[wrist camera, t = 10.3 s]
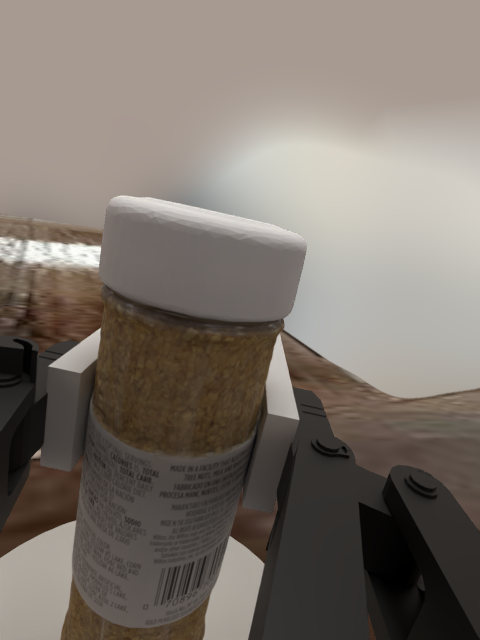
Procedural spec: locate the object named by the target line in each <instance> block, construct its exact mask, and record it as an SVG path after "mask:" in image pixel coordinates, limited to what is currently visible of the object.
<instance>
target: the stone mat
mask: <svg viewBox="0 0 480 640" xmlns="http://www.w3.org/2000/svg"><path fill="white" fill-rule="evenodd" d="M75 527H76V521H73V522H70V523H67V524H64V525H61V526H59V527H57V528H54V529H52V530H50V531H47V532H45V533H43V534H40V535H39V536H37V537H35V538H33V539H31V540H29V541H27V542H26V543H24V544H22V545H20V546H18V547H17V548H15V549H14V550H12V551H11V552H9V553H8V554H6V555H5V556H3V557H2V558H0V640H60V638H61V632H62V627H63V624H64V620H65V615H66V613H67V610H68V608H69V599H70V590H71V582H72V573H73V572H72V553H73V544H74V535H75ZM264 565H265V564H264V563H263V562H262V561H261V560H260V559H259V558H258V557H256V556H255V555H254V554H253V553H252V552H251V551H249V550H248V549H247V548H246V547H245V546H243V545H242V544H240V543H239V542H238V541H236V540H235V539H233V538H232V537H230V536H229V540H228V544H227V548H226V551H225V555H224V558H223V562H222V566H221V570H220V573H219V577H218V579H217V582H216V584H215V586H214V588H213V590H212V592H211V595H210V599H209V603H208V608H207V612H206V615H205V634H204V638H203V640H248V637H249V633H250V628H251V624H252V619H253V615H254V610H255V606H256V601H257V596H258V592H259V587H260V583H261V578H262V574H263V569H264Z"/></svg>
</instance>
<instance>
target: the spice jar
mask: <svg viewBox="0 0 480 640" xmlns="http://www.w3.org/2000/svg"><path fill="white" fill-rule="evenodd" d="M306 247H307V246H306V242H305V240H304V238H303V237H302V236H301V235H299V234H297V233H295V232H291V231H288V230H284V229H281V228H280V227H279V226H277V225H272V224H268V223H264V222H260V221H255V220H251V219H247V218H242V217H238V216H233V215H229V214H224V213H220V212H215V211H211V210H206V209H202V208H198V207H192V206H188V205H183V204H178V203H174V202H169V201H164V200H159V199H154V198H150V197H144V198H138V197H131V196H117V197H114V198H112V199H111V201H110V202H109V203H108V206H107V210H106V217H105V224H104V231H103V238H102V246H101V255H100V264H99V277H100V279H101V280H102V281H103V282H104V283H105V284H103V285H102V286H101V297H102V300H103V303H104V306H105V307H104V312H103V320H102V324H101V331H100V336H101V338H100V344H99V350H98V360H97V367H96V373H95V389H94V391H93V394H92V397H91V400H90V406H89V415H88V423H87V432H86V441H85V448H84V457H83V467H82V476H81V484H80V493H79V501H78V510H77V519H76V527H75V535H74V544H73V553H72V572H73V573H72V582H71V590H70V599H69V608H68V610H67V613H66V615H65V620H64V624H63V627H62V632H61V638H60V640H203V638H204V634H205V615H206V612H207V608H208V603H209V599H210V595H211V592H212V590H213V588H214V586H215V584H216V582H217V579H218V577H219V573H220V570H221V566H222V562H223V558H224V555H225V551H226V548H227V544H228V540H229V536H230V533H231V529H232V525H233V521H234V517H235V514H236V510H237V506H238V502H239V498H240V494H241V490H242V486H243V483H244V479H245V475H246V471H247V467H248V463H249V459H250V456H251V452H252V448H253V444H254V440H255V436H256V432H257V416H258V413H259V409H260V404H261V401H262V397H263V392H264V386H265V383H266V380H267V377H268V372H269V367H270V362H271V360H272V356H273V351H274V346H275V343H276V340H277V336H278V335H279V333H280V332H281V331H282V330H283V329H284V320H283V318H285V317H286V316H288V314H289V313H290V312H291V310H292V308H293V305H294V300H295V297H296V293H297V289H298V285H299V281H300V277H301V272H302V269H303V264H304V259H305V255H306Z"/></svg>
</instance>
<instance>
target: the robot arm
mask: <svg viewBox="0 0 480 640" xmlns="http://www.w3.org/2000/svg"><path fill="white" fill-rule="evenodd" d="M100 331H101V328H100V329H99V330H97V331H96V332H95V333H93V334H92V335H90V336H89V337H88V338H86V339H85V340H84V341H82V342H76V341H71V340H69V341H65V342H61V343H58V344H55V345H53V346H52V347H50V348H48V349H47V350H46V351H45V352H42V353H41V354H39V355H38V352H39V346H38V345H37V344H36V342H34V341H31V340H29V339H26V338H21V337H15V336H0V532H1V530H2V528H3V526H4V524H5V522H6V520H7V518H8V516H9V514H10V512H11V510H12V508H13V506H14V504H15V502H16V500H17V498H18V496H19V494H20V492H21V490H22V488H23V486H24V484H25V482H26V480H27V478H28V476H29V472H30V462H31V457H32V456H33V455H34V454H35V453H36V452H37V451H38V450H39V449H40V448H41V446H42V448H41V461H40V465H41V466H45V467H50V468H55V469H60V470H65V471H71V470H72V468H73V467H74V466H75V464H76V463H77V461H78V460H79V459H80V457H81V456H82V454H83V453H84V448H85V441H86V432H87V423H88V415H89V406H90V400H91V397H92V394H93V391H94V389H95V373H96V367H97V360H98V350H99V344H100V338H101V336H100ZM276 498H277V502H278V511H277V514H276V518H275V521H274V524H273V528H272V531H271V534H270V538H269V541H268V544H267V547H266V550H267V556H266V560H265V565H264V569H263V574H262V578H261V583H260V587H259V592H258V596H257V601H256V606H255V610H254V615H253V619H252V624H251V628H250V633H249V637H248V640H369V627H368V615H367V610H368V613H369V616H370V620H371V623H372V626H373V629H374V633H375V636H376V639H377V640H480V532H479V531H478V529H477V528H476V527H475V525H474V524H473V522H472V521H471V520H470V518H469V517H468V516H467V514H466V513H465V512H464V510H463V509H462V508H461V506H460V505H459V503H458V502H457V501H456V499H455V498H454V497H453V495H452V494H451V493H450V491H449V490H448V489H447V488H446V487H445V486H444V485H443V484H442V483H441V482H440V481H438V480H437V479H435V478H434V477H433V476H432V475H431V474H429V473H427V472H424V471H423V470H421V469H418V468H413V467H410V466H402V465H398V466H395V467H392V469H391V471H390V473H389V476H388V478H385V477H382V476H380V475H378V474H375V473H373V472H370V471H368V470H366V469H364V468H362V467H360V466H358V465H356V464H355V457H354V454H353V452H352V450H351V449H350V448H349V447H348V446H347V445H346V444H345V443H344V442H342V441H341V440H339V439H338V438H336V437H334V435H333V432H332V430H331V427H330V424H329V421H328V419H327V418H326V413H325V411H324V408H323V405H322V403H321V400H320V399H319V398H318V397H317V396H316V395H315V394H314V393H313V392H312V391H308V390H303V389H299V388H294V387H292V385H291V381H290V376H289V372H288V368H287V363H286V359H285V355H284V350H283V346H282V342H281V337H280V334H279V335H278V336H277V340H276V343H275V346H274V351H273V356H272V360H271V362H270V367H269V372H268V377H267V380H266V383H265V386H264V392H263V397H262V401H261V404H260V409H259V413H258V416H257V432H256V436H255V440H254V444H253V448H252V452H251V456H250V459H249V463H248V467H247V471H246V475H245V479H244V483H243V507H244V508H249V509H254V510H258V511H263V512H268V513H272V511H273V508H274V504H275V501H276ZM421 575H422V577H423V579H422V577H421Z"/></svg>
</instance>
